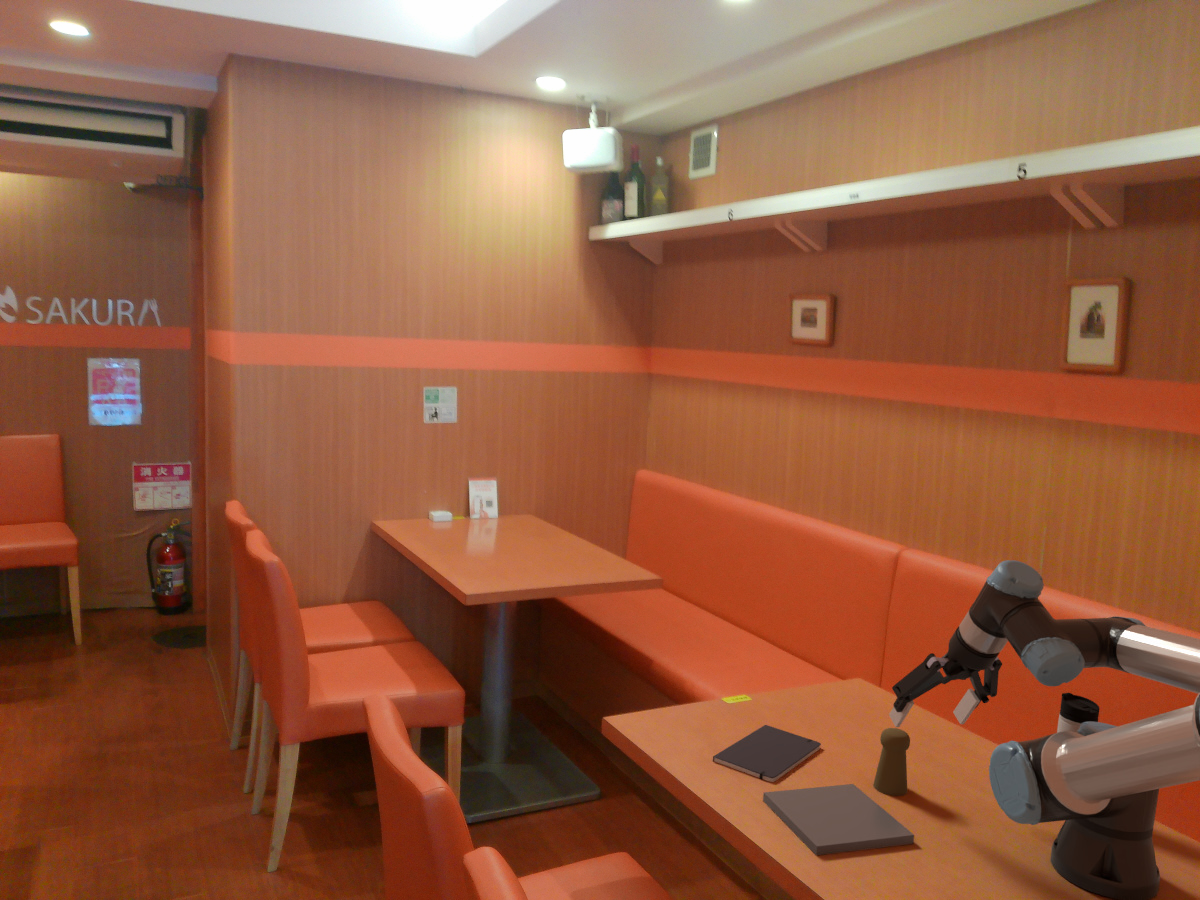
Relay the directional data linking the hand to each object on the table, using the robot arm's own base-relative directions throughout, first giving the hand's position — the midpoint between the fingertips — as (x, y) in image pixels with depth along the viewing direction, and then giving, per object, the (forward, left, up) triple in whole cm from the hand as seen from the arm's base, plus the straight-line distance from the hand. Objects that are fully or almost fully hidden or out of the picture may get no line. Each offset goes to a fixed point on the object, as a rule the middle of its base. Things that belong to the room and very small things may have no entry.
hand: (926, 719), depth 170 cm
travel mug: (-8, -26, -15) cm, 31 cm away
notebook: (+21, +19, -15) cm, 32 cm away
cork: (+4, +3, -15) cm, 15 cm away
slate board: (-5, +20, -14) cm, 26 cm away
